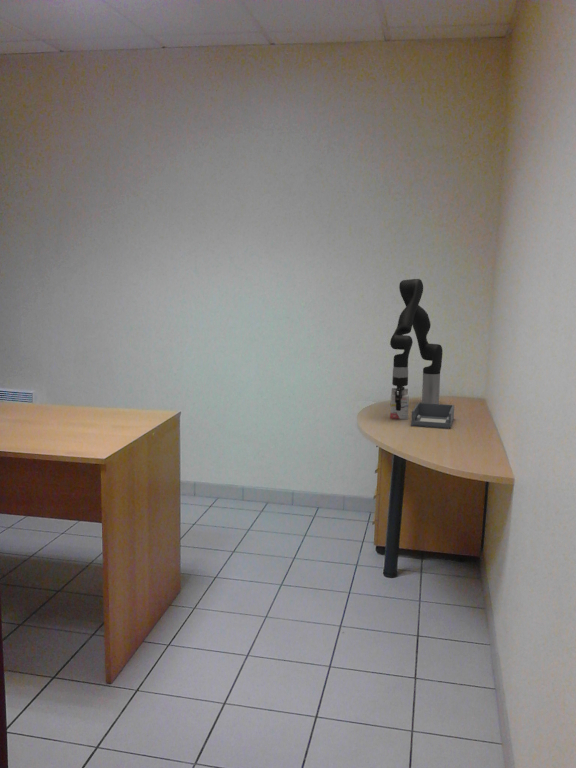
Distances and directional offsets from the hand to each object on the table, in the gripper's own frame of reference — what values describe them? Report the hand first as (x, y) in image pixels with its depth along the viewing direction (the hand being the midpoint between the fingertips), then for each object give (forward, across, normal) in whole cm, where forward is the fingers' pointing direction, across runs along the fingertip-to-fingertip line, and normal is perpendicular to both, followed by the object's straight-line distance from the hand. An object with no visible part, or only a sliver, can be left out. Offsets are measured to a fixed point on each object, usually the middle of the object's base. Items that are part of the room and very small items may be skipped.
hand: (399, 409), depth 322 cm
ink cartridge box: (+5, 0, 0) cm, 5 cm away
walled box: (+4, +4, +17) cm, 18 cm away
